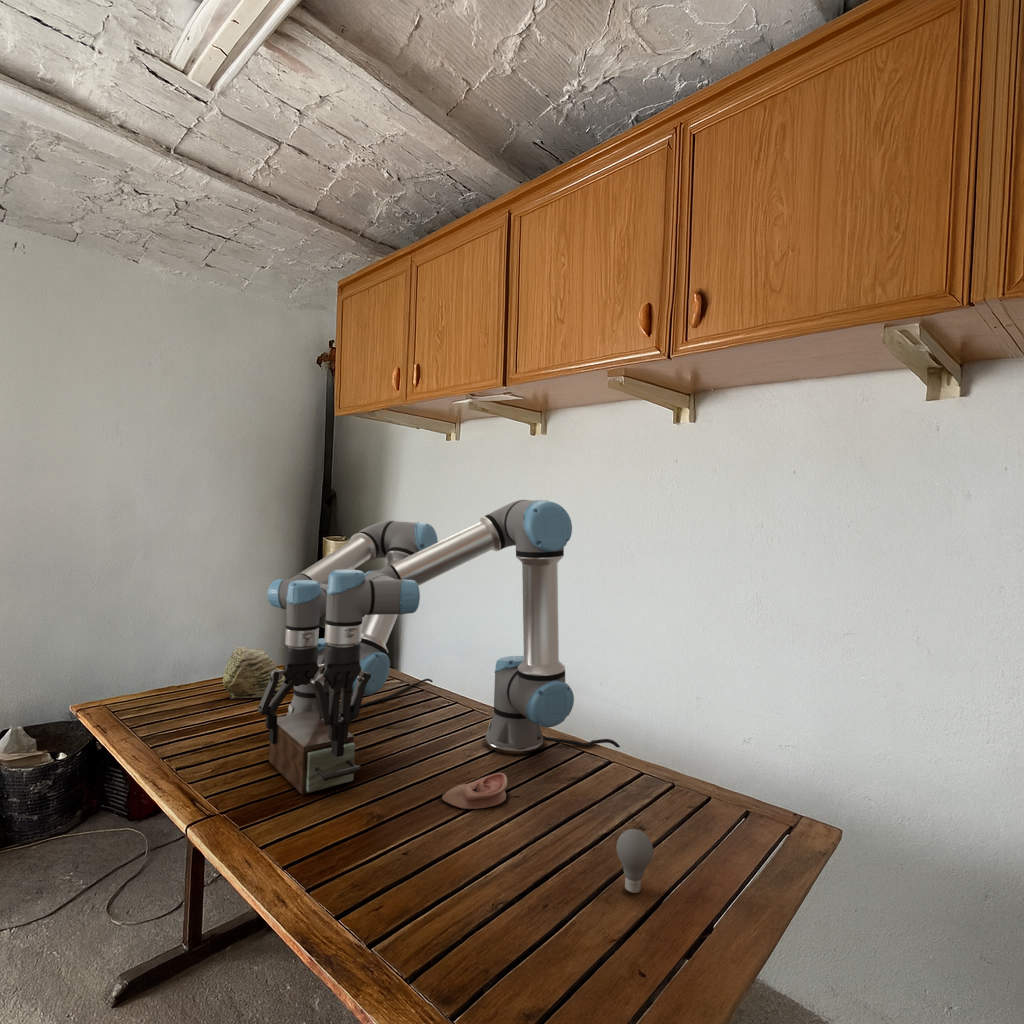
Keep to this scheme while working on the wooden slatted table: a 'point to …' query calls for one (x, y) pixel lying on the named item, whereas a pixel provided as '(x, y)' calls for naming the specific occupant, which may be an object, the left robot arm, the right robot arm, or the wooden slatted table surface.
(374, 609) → the right robot arm
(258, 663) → the fossil
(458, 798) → the anatomical model
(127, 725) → the wooden slatted table surface
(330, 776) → the drawer
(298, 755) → the cabinet
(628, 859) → the light bulb
